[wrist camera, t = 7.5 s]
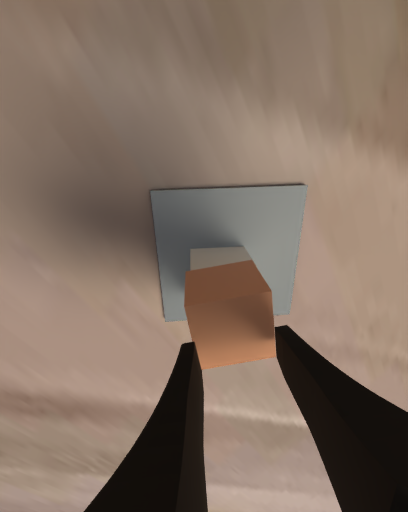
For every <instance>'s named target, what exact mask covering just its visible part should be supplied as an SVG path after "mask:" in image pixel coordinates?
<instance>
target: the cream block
mask: <svg viewBox="0 0 408 512" xmlns="http://www.w3.org/2000/svg"><path fill="white" fill-rule="evenodd" d="M247 260H252V258H251V256H250V255H249V253H248V252H247V250H246V249H245V247H244V246H240V247H219V248H197V249H190V271H191V270H197V269H202V268H208V267H214V266H219V265H225V264H230V263H236V262H242V261H247ZM252 261H253V260H252ZM253 262H254V261H253ZM254 264H255V263H254ZM255 265H256V264H255ZM256 267H257V266H256Z"/></svg>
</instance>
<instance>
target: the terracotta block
mask: <svg viewBox="0 0 408 512" xmlns="http://www.w3.org/2000/svg"><path fill="white" fill-rule="evenodd" d="M184 308H185V312H186V317H187V321H188V325H189V329H190V333H191V337H192V341H193V342H195V345H196V349H197V353H198V357H199V361H200V365H201V370H203V369H208V368H214V367H220V366H226V365H232V364H237V363H243V362H249V361H255V360H261V359H266V358H272V357H276V351H275V334H274V318H273V302H272V291H271V289H270V287H269V286H268V284H267V283H266V281H265V280H264V278H263V276H262V275H261V273H260V272H259V270H258V269H257V267H256V265H255V264H254V262H253V261H252V260H247V261H242V262H236V263H230V264H225V265H219V266H214V267H208V268H202V269H197V270H191V271H186V273H185V296H184Z"/></svg>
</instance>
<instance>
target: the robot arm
mask: <svg viewBox="0 0 408 512" xmlns="http://www.w3.org/2000/svg"><path fill="white" fill-rule="evenodd" d="M275 339H276V354H277V359H278V362H279V365H280V368H281V370H282V373H283V376H284V378H285V380H286V382H287V384H288V386H289V388H290V390H291V393H292V395H293V397H294V399H295V401H296V403H297V405H298V407H299V409H300V411H301V413H302V415H303V417H304V419H305V421H306V423H307V425H308V427H309V429H310V431H311V434H312V436H313V438H314V441H315V443H316V446H317V448H318V451H319V453H320V456H321V458H322V461H323V463H324V466H325V468H326V471H327V474H328V476H329V479H330V481H331V484H332V487H333V489H334V492H335V494H336V497H337V500H338V502H339V505H340V508H341V510H342V512H408V412H406V411H404V410H403V409H401V408H399V407H397V406H396V405H394V404H392V403H390V402H389V401H387V400H385V399H383V398H382V397H380V396H378V395H377V394H375V393H373V392H372V391H370V390H369V389H367V388H365V387H364V386H362V385H361V384H359V383H358V382H356V381H355V380H353V379H352V378H351V377H349V376H348V375H346V374H345V373H344V372H342V371H341V370H339V369H338V368H337V367H335V366H334V365H333V364H331V363H330V362H329V361H328V360H326V359H325V358H324V357H323V356H321V355H320V354H319V353H318V352H317V351H315V350H314V349H313V348H312V347H311V346H310V345H308V344H307V343H306V342H305V341H304V340H303V339H302V338H300V337H299V336H298V335H297V334H296V333H295V332H294V331H293V330H292V329H291V328H290V327H289V326H287V325H284V326H279V327H275ZM203 422H204V390H203V379H202V370H201V365H200V361H199V357H198V353H197V349H196V345H195V342H189V343H184V344H182V345H181V348H180V352H179V355H178V358H177V361H176V363H175V366H174V369H173V371H172V374H171V376H170V378H169V381H168V383H167V385H166V388H165V390H164V392H163V394H162V396H161V398H160V400H159V402H158V404H157V406H156V408H155V410H154V412H153V414H152V415H151V417H150V419H149V421H148V422H147V424H146V426H145V427H144V429H143V431H142V432H141V434H140V436H139V437H138V439H137V440H136V442H135V444H134V445H133V447H132V448H131V450H130V451H129V453H128V454H127V455H126V457H125V458H124V460H123V461H122V462H121V464H120V465H119V467H118V468H117V470H116V471H115V472H114V474H113V475H112V476H111V478H110V479H109V480H108V482H107V483H106V484H105V486H104V487H103V488H102V489H101V491H100V492H99V493H98V494H97V496H96V497H95V498H94V499H93V501H92V502H91V503H90V505H89V506H88V507H87V508H86V510H85V511H84V512H208V508H207V494H206V481H205V467H204V448H203Z"/></svg>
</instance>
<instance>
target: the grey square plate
mask: <svg viewBox="0 0 408 512" xmlns="http://www.w3.org/2000/svg"><path fill="white" fill-rule="evenodd" d="M307 187H308V185H283V186H255V187H227V188H199V189H171V190H151V191H150V194H151V203H152V212H153V220H154V229H155V237H156V246H157V255H158V263H159V272H160V281H161V289H162V298H163V306H164V315H165V322H169V321H185V320H187V317H186V312H185V308H184V296H185V273H186V271H190V249H197V248H219V247H240V246H244V247H245V249H246V250H247V252H248V253H249V255H250V256H251V258H252V260H253V261H254V263H255V264H256V266H257V269H258V270H259V272H260V273H261V275H262V276H263V278H264V280H265V281H266V283H267V284H268V286H269V287H270V289H271V291H272V302H273V315H286V314H290V308H291V301H292V293H293V286H294V279H295V272H296V265H297V258H298V251H299V244H300V237H301V229H302V222H303V215H304V208H305V201H306V194H307Z"/></svg>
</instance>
